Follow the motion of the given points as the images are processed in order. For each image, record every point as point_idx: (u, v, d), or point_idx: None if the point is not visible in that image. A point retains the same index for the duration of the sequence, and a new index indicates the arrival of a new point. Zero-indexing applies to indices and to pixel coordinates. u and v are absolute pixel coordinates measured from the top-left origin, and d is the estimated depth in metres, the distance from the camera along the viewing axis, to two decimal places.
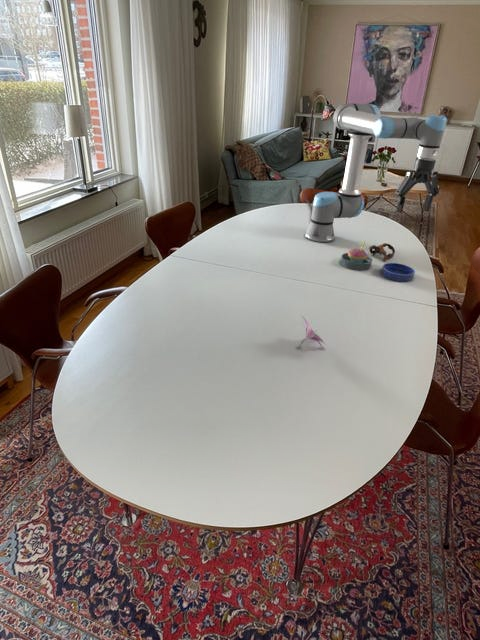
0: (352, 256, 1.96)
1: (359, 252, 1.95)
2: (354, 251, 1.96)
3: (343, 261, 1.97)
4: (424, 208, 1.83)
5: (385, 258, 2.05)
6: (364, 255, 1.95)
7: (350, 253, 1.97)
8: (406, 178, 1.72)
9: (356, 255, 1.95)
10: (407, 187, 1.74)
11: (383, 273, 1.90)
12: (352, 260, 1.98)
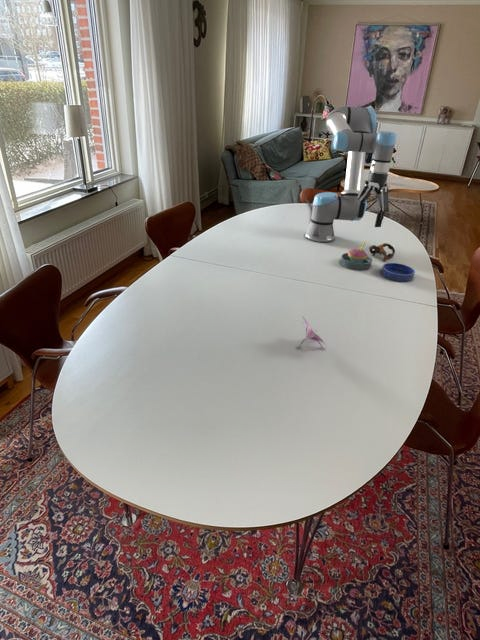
0: (352, 256, 1.96)
1: (359, 252, 1.95)
2: (354, 251, 1.96)
3: (343, 261, 1.97)
4: None
5: (385, 258, 2.05)
6: (364, 255, 1.95)
7: (350, 253, 1.97)
8: None
9: (356, 255, 1.95)
10: None
11: (383, 273, 1.90)
12: (352, 260, 1.98)
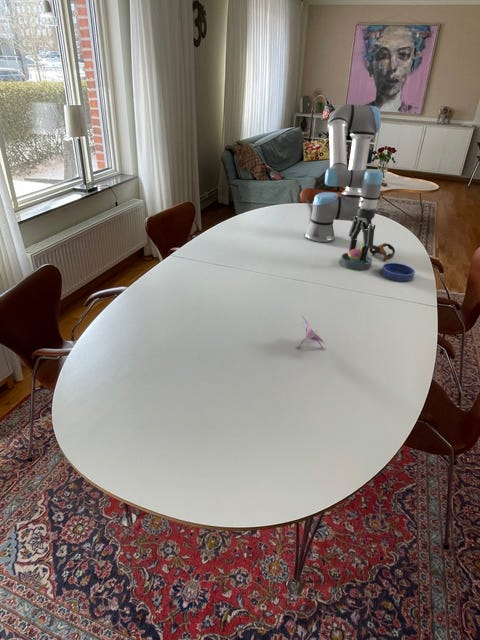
0: (352, 256, 1.96)
1: (359, 252, 1.95)
2: (354, 251, 1.96)
3: (343, 261, 1.97)
4: None
5: (385, 258, 2.05)
6: None
7: (350, 253, 1.97)
8: None
9: (356, 255, 1.95)
10: None
11: (383, 273, 1.90)
12: (352, 260, 1.98)
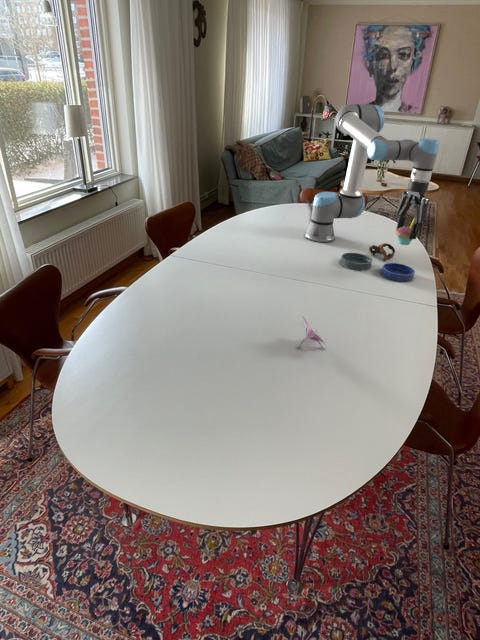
0: (401, 234, 1.80)
1: (409, 230, 1.80)
2: (403, 229, 1.80)
3: (343, 261, 1.97)
4: None
5: (385, 258, 2.05)
6: None
7: (398, 231, 1.81)
8: None
9: (405, 233, 1.79)
10: None
11: (383, 273, 1.90)
12: (400, 239, 1.82)
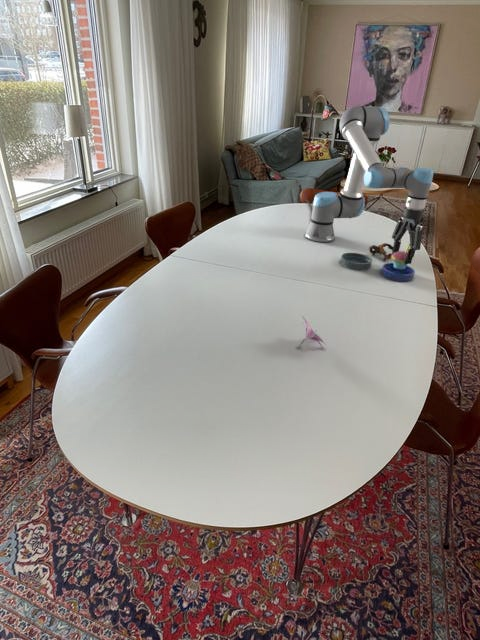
0: (397, 259, 1.85)
1: (404, 255, 1.85)
2: (399, 254, 1.86)
3: (343, 261, 1.97)
4: None
5: (385, 258, 2.05)
6: None
7: (394, 256, 1.86)
8: None
9: (401, 258, 1.84)
10: None
11: (383, 273, 1.90)
12: (396, 263, 1.87)
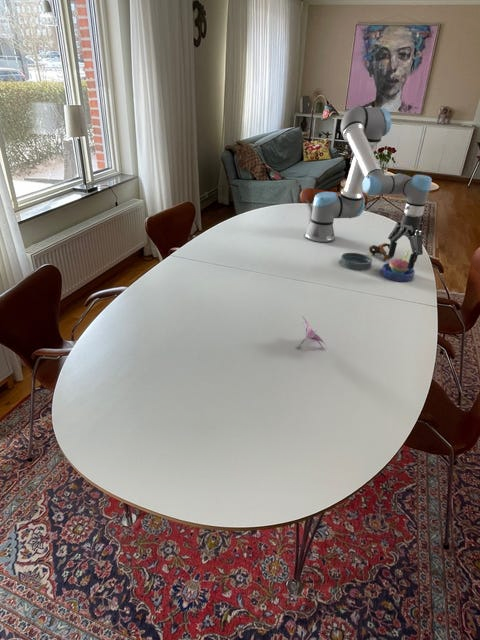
0: (394, 267, 1.87)
1: (402, 263, 1.87)
2: (396, 262, 1.88)
3: (343, 261, 1.97)
4: None
5: (385, 258, 2.05)
6: None
7: (392, 264, 1.88)
8: None
9: (399, 266, 1.86)
10: None
11: (383, 273, 1.90)
12: (394, 271, 1.89)
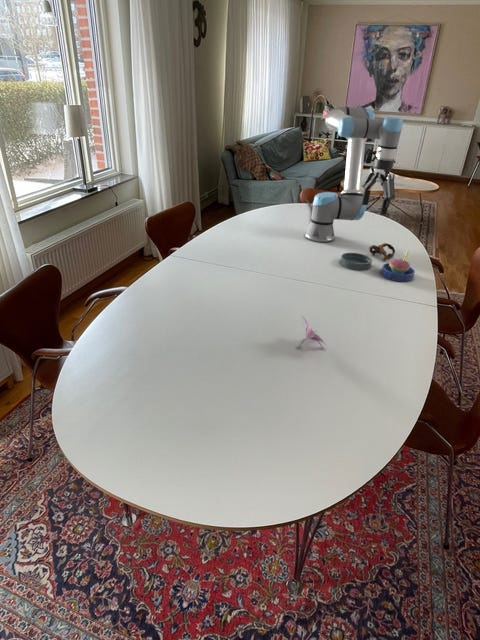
0: (394, 267, 1.87)
1: (402, 263, 1.87)
2: (396, 262, 1.88)
3: (343, 261, 1.97)
4: None
5: (385, 258, 2.05)
6: (407, 266, 1.87)
7: (392, 264, 1.88)
8: None
9: (399, 266, 1.86)
10: None
11: (383, 273, 1.90)
12: (394, 271, 1.89)
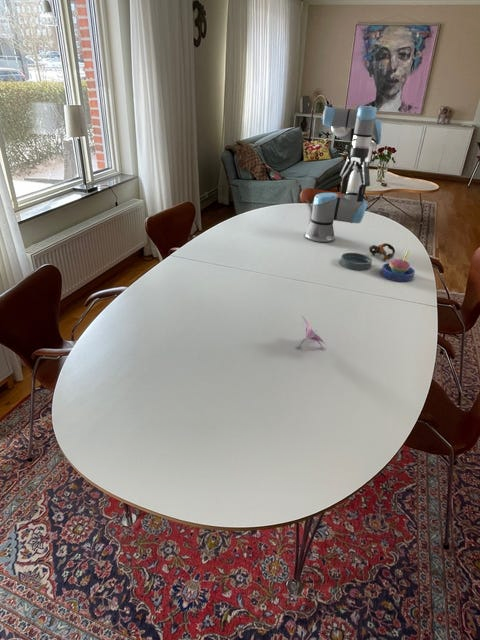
0: (394, 267, 1.87)
1: (402, 263, 1.87)
2: (396, 262, 1.88)
3: (343, 261, 1.97)
4: None
5: (385, 258, 2.05)
6: (407, 266, 1.87)
7: (392, 264, 1.88)
8: None
9: (399, 266, 1.86)
10: None
11: (383, 273, 1.90)
12: (394, 271, 1.89)
